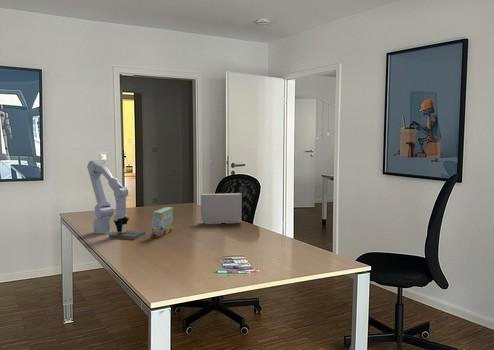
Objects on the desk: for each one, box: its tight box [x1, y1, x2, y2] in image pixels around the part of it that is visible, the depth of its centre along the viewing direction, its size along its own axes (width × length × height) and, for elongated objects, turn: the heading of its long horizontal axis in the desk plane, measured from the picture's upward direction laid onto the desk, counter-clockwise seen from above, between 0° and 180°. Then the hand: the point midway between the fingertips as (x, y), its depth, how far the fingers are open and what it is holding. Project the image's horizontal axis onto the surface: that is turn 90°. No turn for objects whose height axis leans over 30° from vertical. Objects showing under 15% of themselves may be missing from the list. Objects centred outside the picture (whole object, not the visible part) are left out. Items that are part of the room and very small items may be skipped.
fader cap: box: [116, 224, 127, 233], centre depth 276 cm, size 4×4×5 cm
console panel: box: [108, 229, 146, 241], centre depth 276 cm, size 16×14×2 cm
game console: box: [200, 192, 243, 225], centre depth 318 cm, size 6×27×20 cm, turn 104°
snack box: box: [151, 206, 174, 239], centre depth 283 cm, size 21×6×15 cm, turn 168°
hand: (121, 230), depth 276 cm, fingers closed on fader cap, 4 cm apart
